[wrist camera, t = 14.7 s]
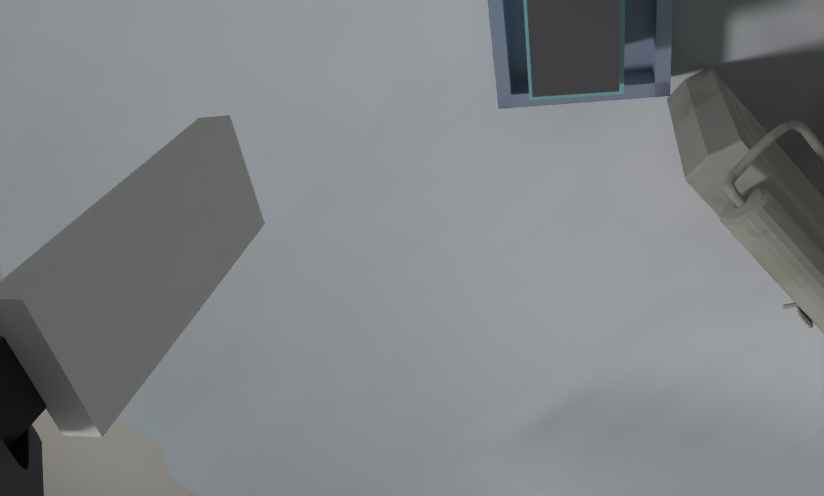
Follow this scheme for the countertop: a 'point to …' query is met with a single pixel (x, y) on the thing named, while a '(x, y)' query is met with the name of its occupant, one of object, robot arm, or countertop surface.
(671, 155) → the countertop surface
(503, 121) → the countertop surface
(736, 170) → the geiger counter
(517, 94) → the tray
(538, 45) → the teal-edged grey panel
